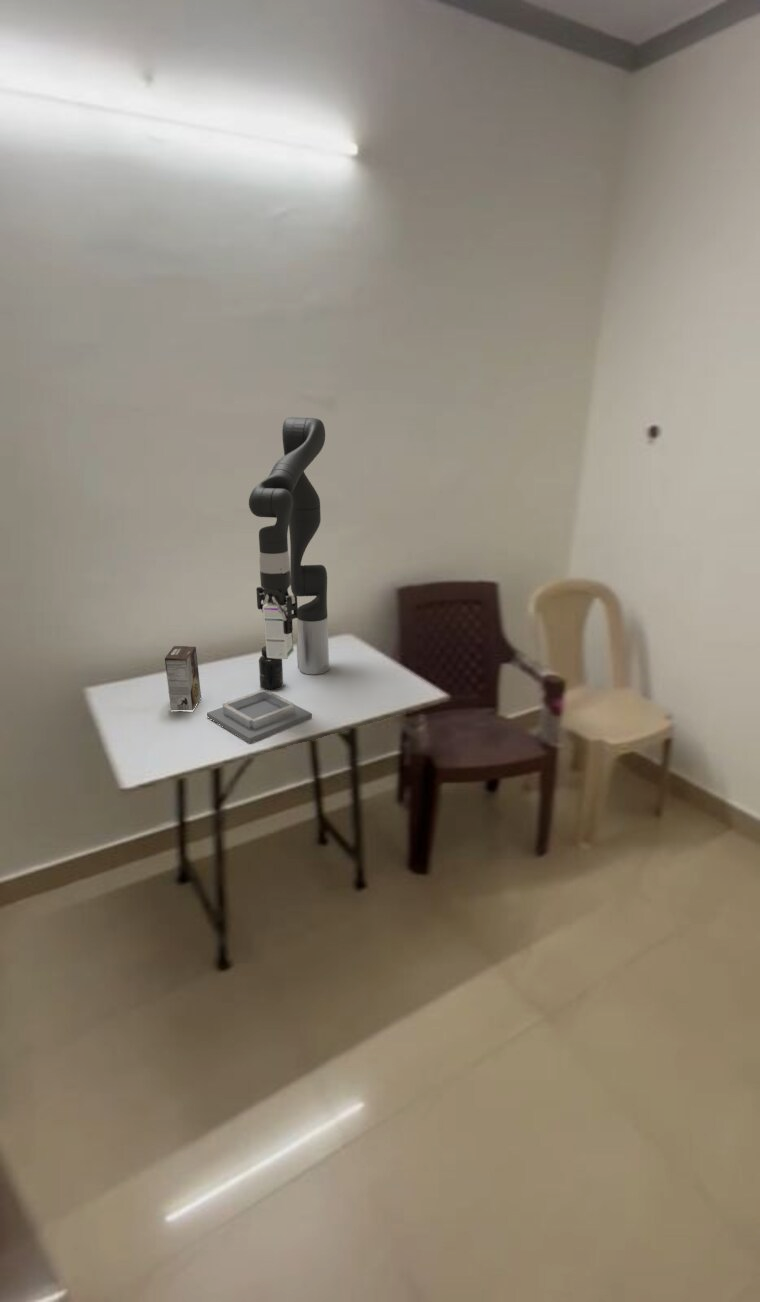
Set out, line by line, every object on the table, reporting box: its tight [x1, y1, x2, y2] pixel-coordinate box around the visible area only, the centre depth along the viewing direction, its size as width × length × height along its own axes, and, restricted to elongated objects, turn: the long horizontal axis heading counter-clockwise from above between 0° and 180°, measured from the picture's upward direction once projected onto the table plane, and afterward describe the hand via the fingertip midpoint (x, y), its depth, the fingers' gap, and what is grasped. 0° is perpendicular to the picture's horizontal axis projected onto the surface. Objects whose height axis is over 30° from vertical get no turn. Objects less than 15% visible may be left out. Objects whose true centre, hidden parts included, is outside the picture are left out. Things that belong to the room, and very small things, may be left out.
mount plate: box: [206, 700, 313, 744], centre depth 196 cm, size 20×20×2 cm
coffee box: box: [164, 645, 202, 711], centre depth 200 cm, size 9×6×16 cm
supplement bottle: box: [258, 645, 284, 691], centre depth 213 cm, size 7×7×12 cm
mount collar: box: [222, 689, 296, 730], centre depth 195 cm, size 14×14×2 cm
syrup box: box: [262, 603, 295, 660], centre depth 189 cm, size 6×6×14 cm
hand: (278, 629), depth 189 cm, fingers closed on syrup box, 7 cm apart
